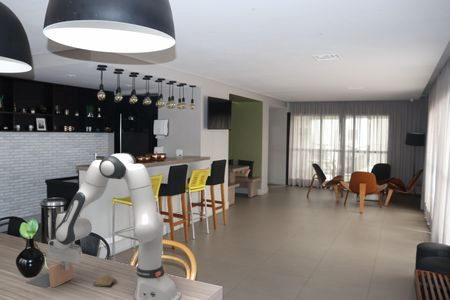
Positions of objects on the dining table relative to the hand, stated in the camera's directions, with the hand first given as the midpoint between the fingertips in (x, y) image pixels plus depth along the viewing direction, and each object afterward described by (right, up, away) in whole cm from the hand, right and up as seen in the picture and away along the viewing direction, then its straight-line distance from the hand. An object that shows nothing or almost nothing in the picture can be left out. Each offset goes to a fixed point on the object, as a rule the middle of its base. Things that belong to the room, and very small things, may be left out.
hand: (65, 269), depth 183 cm
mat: (-11, -7, +5) cm, 14 cm away
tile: (-2, -7, +1) cm, 8 cm away
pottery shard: (+16, -7, +3) cm, 18 cm away
